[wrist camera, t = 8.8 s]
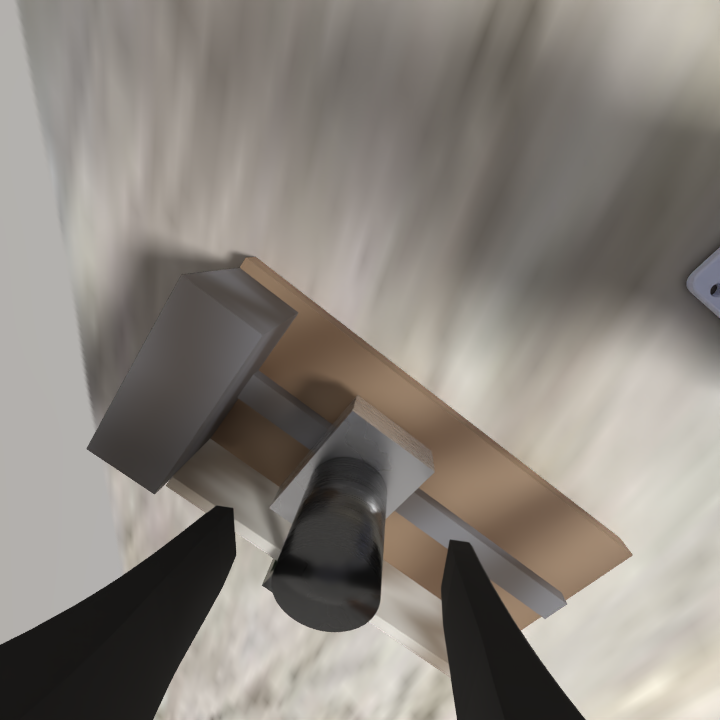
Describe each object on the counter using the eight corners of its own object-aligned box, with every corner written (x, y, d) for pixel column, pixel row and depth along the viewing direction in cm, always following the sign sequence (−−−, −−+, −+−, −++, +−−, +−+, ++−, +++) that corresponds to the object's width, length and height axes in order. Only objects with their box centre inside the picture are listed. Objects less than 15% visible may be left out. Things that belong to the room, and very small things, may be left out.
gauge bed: (620, 538, 17) (702, 647, 13) (487, 631, 20) (513, 748, 15) (255, 257, 15) (188, 261, 10) (164, 405, 18) (79, 461, 13)
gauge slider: (431, 450, 15) (449, 571, 9) (320, 561, 17) (281, 707, 12) (357, 394, 14) (329, 487, 9) (254, 516, 17) (182, 646, 12)
